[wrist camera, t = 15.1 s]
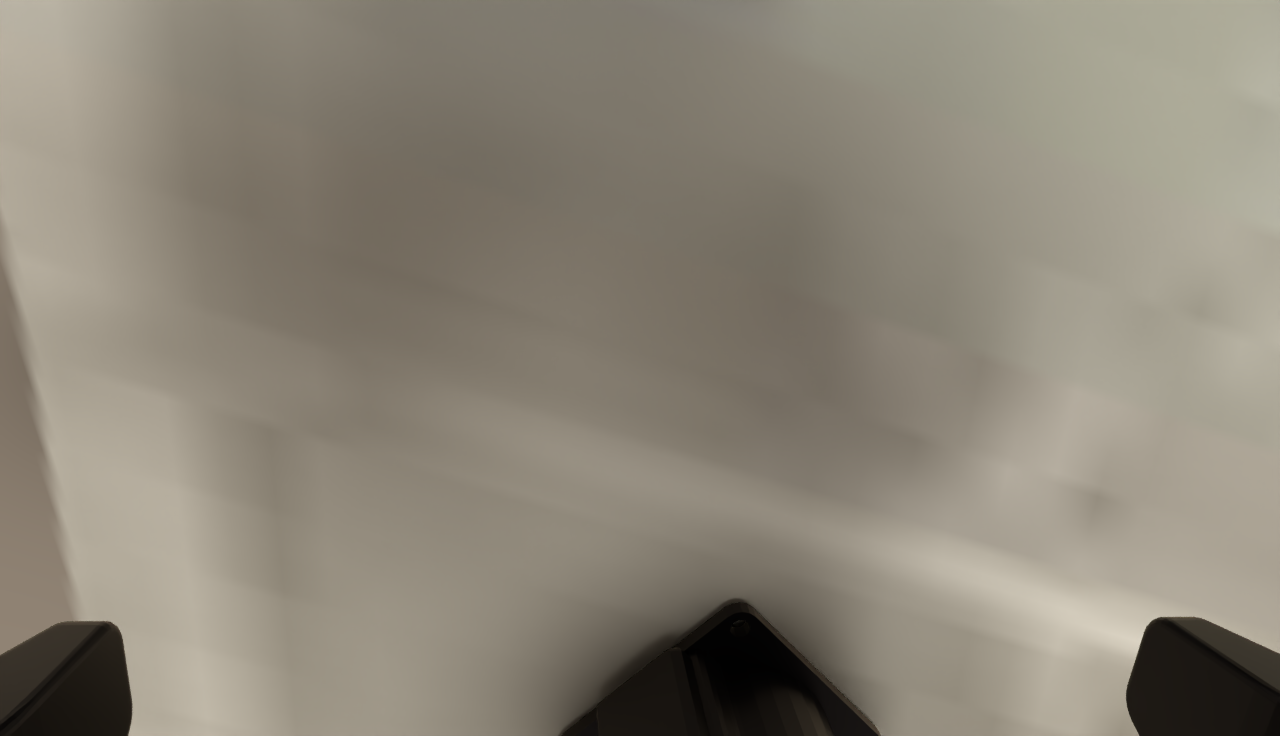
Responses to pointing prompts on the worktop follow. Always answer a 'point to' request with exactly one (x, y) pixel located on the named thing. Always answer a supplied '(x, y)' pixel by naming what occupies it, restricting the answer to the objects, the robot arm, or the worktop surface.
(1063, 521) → the worktop surface
